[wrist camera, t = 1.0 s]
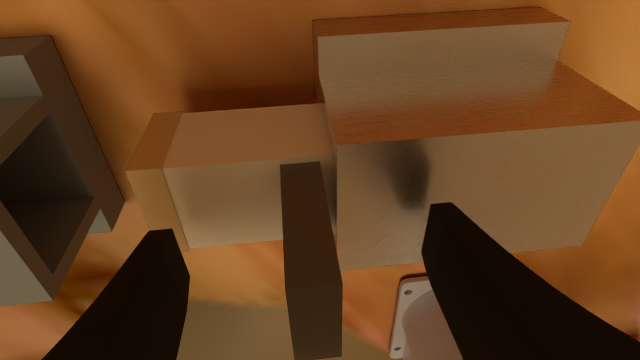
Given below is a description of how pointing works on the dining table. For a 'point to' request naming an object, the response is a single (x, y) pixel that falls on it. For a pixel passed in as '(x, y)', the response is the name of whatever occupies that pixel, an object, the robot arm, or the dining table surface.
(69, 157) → the slate stepped block
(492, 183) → the beige stepped block
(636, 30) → the dining table surface
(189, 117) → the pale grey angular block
